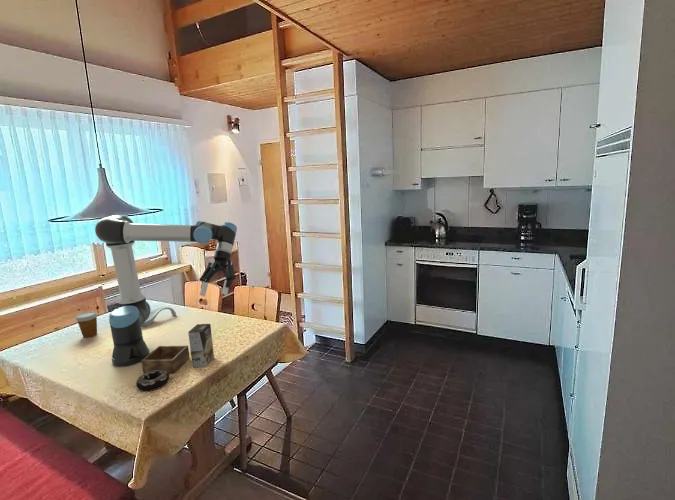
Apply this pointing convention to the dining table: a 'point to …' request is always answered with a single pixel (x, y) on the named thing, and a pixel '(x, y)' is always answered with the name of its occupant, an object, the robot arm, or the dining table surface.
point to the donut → (152, 380)
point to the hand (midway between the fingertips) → (213, 295)
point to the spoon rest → (155, 313)
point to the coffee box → (201, 345)
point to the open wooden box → (166, 359)
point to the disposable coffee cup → (88, 324)
